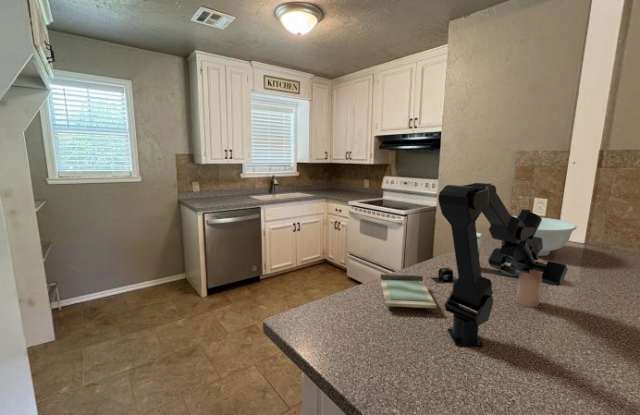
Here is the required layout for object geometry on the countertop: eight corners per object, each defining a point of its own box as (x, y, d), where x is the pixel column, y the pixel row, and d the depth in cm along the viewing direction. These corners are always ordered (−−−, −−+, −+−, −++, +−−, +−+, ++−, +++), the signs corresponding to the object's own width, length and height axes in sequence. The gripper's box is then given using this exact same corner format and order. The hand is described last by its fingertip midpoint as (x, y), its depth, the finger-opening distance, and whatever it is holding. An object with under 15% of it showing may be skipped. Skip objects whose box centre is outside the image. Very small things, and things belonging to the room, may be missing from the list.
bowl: (474, 245, 152) (477, 217, 149) (522, 239, 161) (525, 213, 159) (536, 266, 122) (540, 232, 119) (590, 258, 131) (595, 226, 129)
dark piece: (434, 286, 105) (435, 273, 104) (424, 278, 112) (425, 266, 112) (466, 283, 107) (467, 271, 106) (454, 275, 114) (455, 264, 113)
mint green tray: (435, 314, 85) (436, 300, 84) (386, 312, 86) (386, 298, 86) (421, 287, 103) (422, 275, 102) (380, 286, 104) (380, 274, 103)
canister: (542, 307, 88) (548, 263, 86) (522, 306, 89) (527, 262, 87) (531, 298, 94) (536, 256, 92) (512, 298, 95) (517, 256, 92)
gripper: (569, 235, 78) (579, 267, 85) (496, 223, 93) (510, 250, 101) (553, 270, 75) (565, 299, 82) (480, 251, 90) (495, 277, 98)
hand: (531, 279), depth 91 cm, fingers open, 9 cm apart
